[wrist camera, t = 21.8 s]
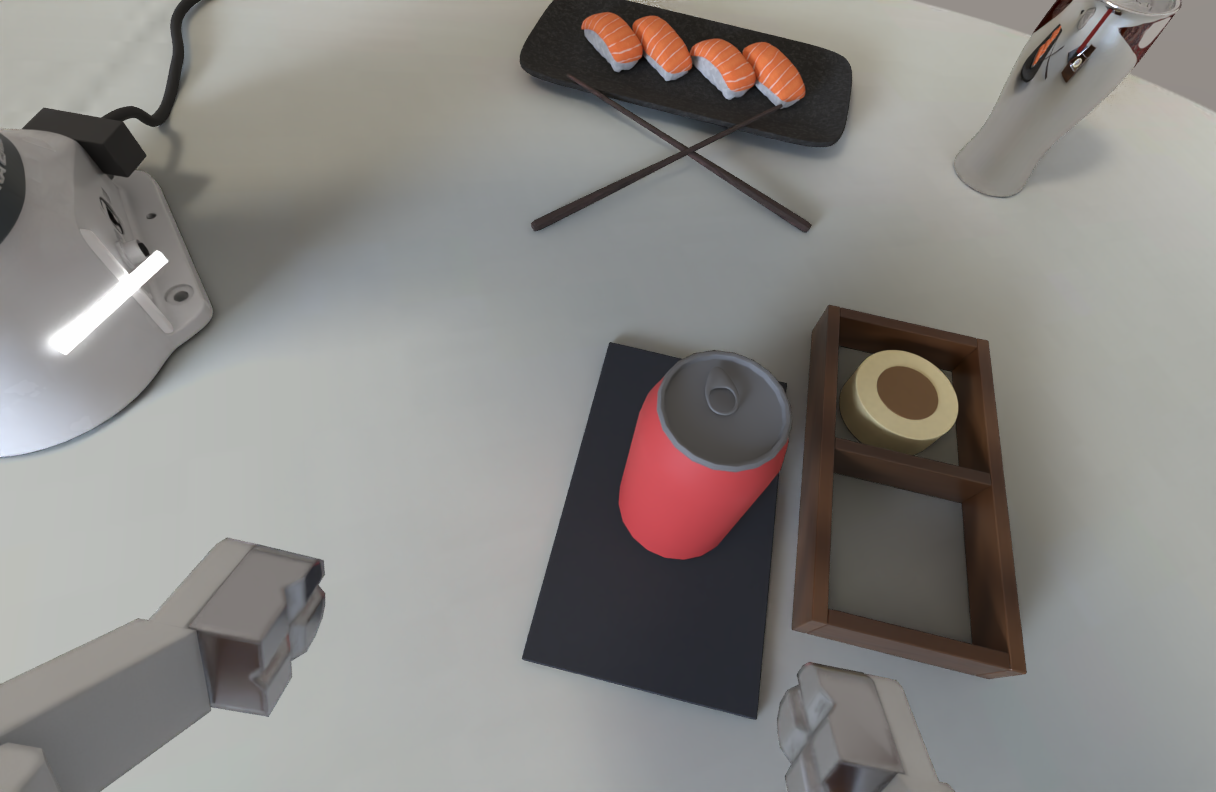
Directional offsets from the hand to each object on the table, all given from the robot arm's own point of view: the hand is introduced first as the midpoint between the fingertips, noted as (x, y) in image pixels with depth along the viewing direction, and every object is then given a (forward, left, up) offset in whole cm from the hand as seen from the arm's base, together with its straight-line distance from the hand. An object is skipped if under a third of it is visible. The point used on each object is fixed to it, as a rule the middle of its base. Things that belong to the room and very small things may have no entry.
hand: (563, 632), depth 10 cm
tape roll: (-8, +26, -23) cm, 35 cm away
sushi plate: (-38, +24, -23) cm, 50 cm away
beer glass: (-25, +49, -23) cm, 59 cm away
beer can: (-7, +10, -22) cm, 25 cm away
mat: (-7, +10, -23) cm, 26 cm away
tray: (-4, +23, -23) cm, 33 cm away
